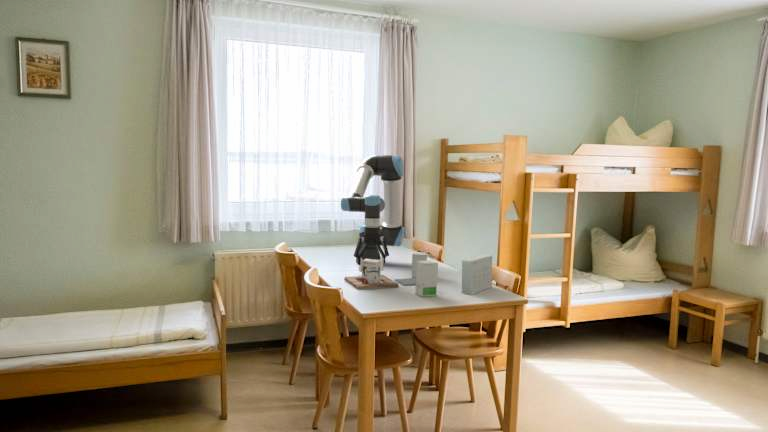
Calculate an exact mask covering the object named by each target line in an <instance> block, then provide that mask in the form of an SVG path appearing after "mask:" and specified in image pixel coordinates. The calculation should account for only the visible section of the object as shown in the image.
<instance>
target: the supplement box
mask: <svg viewBox="0 0 768 432" xmlns="http://www.w3.org/2000/svg"><path fill="white" fill-rule="evenodd" d="M411 258H412V259H411V274H410V275H411V277H410V278H416V271H417V261H428V252H424V251H423V252H421V251H420V252H419V251H415V252H413V253H412V256H411Z"/></svg>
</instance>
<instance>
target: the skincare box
mask: <svg viewBox="0 0 768 432" xmlns="http://www.w3.org/2000/svg"><path fill="white" fill-rule="evenodd" d="M438 267H439V262H437V261H433V260H427V261H417V271H416V285H415V295H417V296H419V297H421V298H422V297H423V298H425V297H426V298H427V297H437V293H438V273H439V269H438Z"/></svg>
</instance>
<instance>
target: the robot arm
mask: <svg viewBox="0 0 768 432" xmlns="http://www.w3.org/2000/svg"><path fill="white" fill-rule="evenodd" d="M404 164H405V163H404V160H403V157H401V156H400V155H394V154H391V155H390V154H387V155H386V154H385V155H384V154H383V155H382V154H374V155H370V156H368V157H366V158H365V159H363V160H362V162H361V163H360V164H359V165H358V167H357V170H356V177H355V179H354V181H353V183H352V186H351V189H350V191H349V193H348V196H342V197H341V199H340V200H341V201H340V208H341V210H342V212H349V213H350V212H354V213H355V212H356V213H357V212H358V213H364V224H361V225H360V226H359V232H358V235H359V236H358V238H357V243H356V248H355V250H354V253H353V257H354V258H355V263H356V265H358V271H359V272H360V273H362V260H364V259H375V260H380V261H381V272H382V271H384V264H386V258H387V257H389V256H390V252H389V250H388V249H389V248H388V247H401V246H402V244H403V241H404V237H405V227H404V226H402V222H401V221H400V203H399V202H400V199H399V198H400V196H399V195H400V191H399V190H400V189H399V188H400V185H399V183H400V181H401V180H402V177H404V175H405V165H404ZM374 176H375V177H378V176H379V177H380V179H381V181H382V182H383V198H382V197H381V196H380V194H379V195H378V194H367V195H365V193H366V191H367V188H368V185H369V183H370V180H371V179H372V178H373V177H374ZM364 195H365V197H364ZM383 211H384V212H383ZM381 212H383V215H384V216H383V220H384V221H382V223H380V222H381ZM381 246H382V247H381ZM382 248H383V249H382Z"/></svg>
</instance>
